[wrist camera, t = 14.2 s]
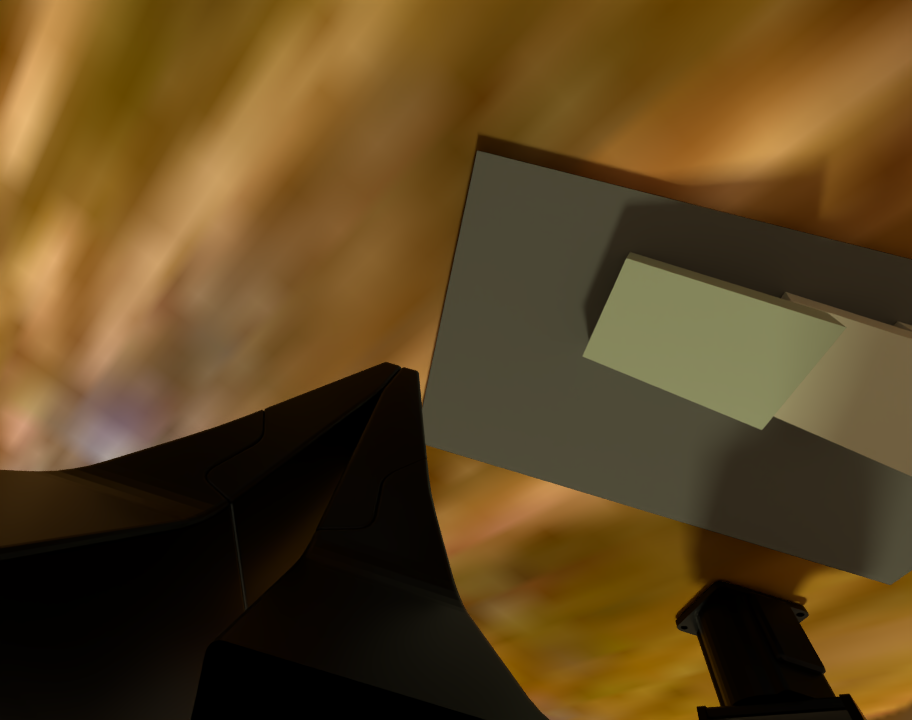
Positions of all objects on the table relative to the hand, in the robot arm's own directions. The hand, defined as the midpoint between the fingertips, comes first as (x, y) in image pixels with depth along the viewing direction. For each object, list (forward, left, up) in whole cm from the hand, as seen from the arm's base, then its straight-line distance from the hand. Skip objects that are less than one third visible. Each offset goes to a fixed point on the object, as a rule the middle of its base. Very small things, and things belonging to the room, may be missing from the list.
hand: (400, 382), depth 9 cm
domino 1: (0, -7, -11) cm, 13 cm away
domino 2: (0, -14, -11) cm, 18 cm away
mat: (-4, -15, -12) cm, 20 cm away
